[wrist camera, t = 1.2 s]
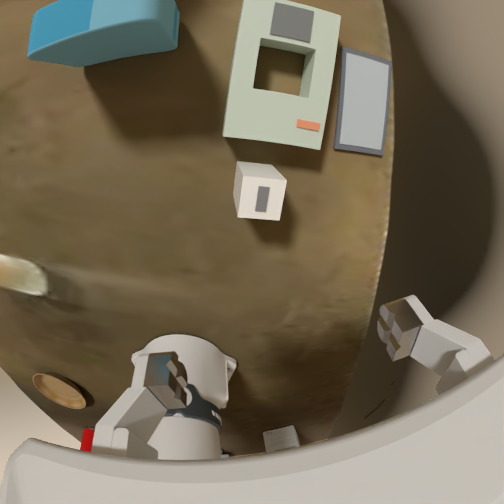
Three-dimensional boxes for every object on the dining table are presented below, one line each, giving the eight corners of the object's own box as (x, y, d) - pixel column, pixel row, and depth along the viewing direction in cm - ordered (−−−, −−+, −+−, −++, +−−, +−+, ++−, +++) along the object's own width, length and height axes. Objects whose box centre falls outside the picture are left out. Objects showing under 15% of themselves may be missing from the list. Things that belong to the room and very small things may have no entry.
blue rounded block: (181, 16, 20) (164, -29, 10) (179, 50, 22) (158, 18, 12) (82, 35, 19) (26, 14, 8) (79, 68, 21) (19, 59, 11)
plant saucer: (32, 357, 42) (28, 365, 40) (87, 381, 47) (85, 390, 45) (40, 386, 48) (37, 394, 46) (88, 406, 53) (86, 414, 51)
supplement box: (297, 433, 70) (309, 479, 56) (268, 440, 70) (277, 486, 56) (293, 424, 65) (306, 475, 51) (261, 431, 65) (271, 483, 51)
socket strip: (309, 145, 30) (320, 150, 26) (222, 133, 28) (223, 136, 25) (328, 23, 22) (341, 15, 19) (241, 4, 20) (245, -7, 17)
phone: (378, 154, 31) (383, 155, 31) (331, 147, 30) (335, 148, 30) (387, 62, 25) (391, 61, 24) (339, 48, 24) (343, 46, 23)
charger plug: (266, 197, 32) (279, 221, 26) (233, 194, 32) (238, 217, 25) (271, 164, 30) (287, 180, 24) (237, 160, 30) (243, 176, 24)
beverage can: (106, 434, 62) (102, 465, 51) (93, 433, 62) (88, 464, 52) (93, 425, 59) (87, 458, 48) (80, 425, 59) (74, 457, 49)
